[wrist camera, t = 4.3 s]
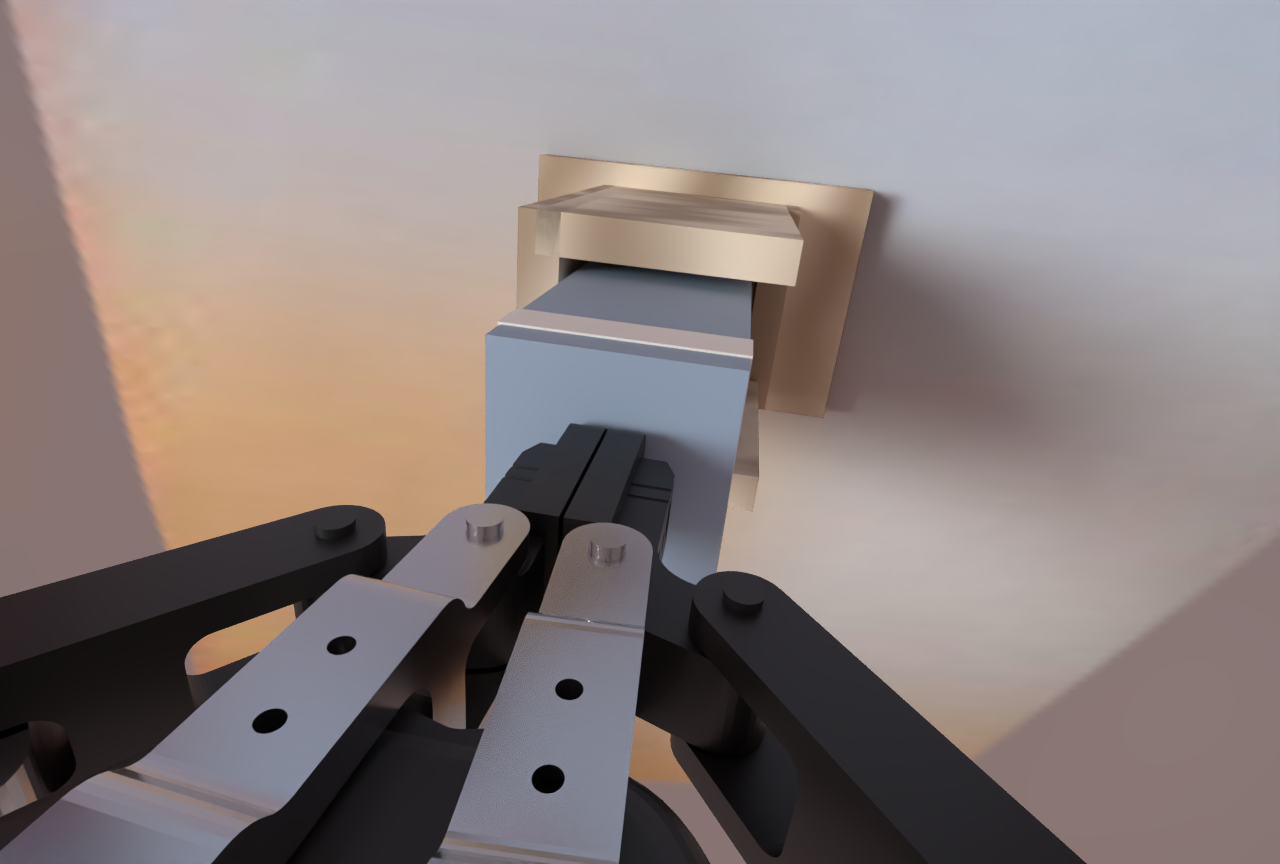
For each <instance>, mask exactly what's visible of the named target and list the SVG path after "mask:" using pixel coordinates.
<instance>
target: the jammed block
mask: <svg viewBox="0 0 1280 864" xmlns="http://www.w3.org/2000/svg"><path fill="white" fill-rule="evenodd" d="M751 294H752V281H747V280H739V279H731V278H723V277H715V276H707V275H699V274H691V273H683V272H675V271H667V270H659V269H651V268H643V267H635V266H627V265H619V264H610V263H602V262H594V261H589V262H588V263H587V264H585V265H584V266H582V267H581V268H579V269H578V270H577V271H575V272H574V273H572V274H571V275H569V276H568V277H567V278H565V279H564V280H562V281H561V282H559V283H558V284H557V285H555V286H554V287H552V288H551V289H550V290H548V291H547V292H545V293H544V294H542V295H541V296H540V297H538V298H537V299H535V300H534V301H532V302H531V303H530V304H528V305H527V306H525V307H524V308H522V309H520V308H517V309H515V310H514V311H512V312H511V313H509V314H508V315H506V316H505V317H504V318H502V319H501V320H499V321H498V326H497V327H495V328H494V329H493V330H491V331H490V332H488V333H487V334H486V335H485V383H486V499H487V498H488V497H489V495H490V494H491V493H492V491H493V490H494V489H495V487H496V486H497V485H498V483H499V482H500V481H501V479H502V478H503V477H505V474H506V473H507V471H508V470H509V469H510V467H513V463H514V462H515V461H516V459H517V458H518V457H519V456H520V454H521V453H522V452H523V451H525V450H527V449H529V448H531V447H533V446H535V445H537V444H539V443H541V442H542V443H548V444H555V445H556V444H557V442H558V441H559V439H560V438H561V436H562V435H563V433H564V432H565V430H566V429H567V427H568V425H569V424H570V423H574V424H581V425H587V426H594V427H600V428H607V431H608V430H609V429H614V430H621V431H628V432H634V433H641V434H645V435H646V442H645V452H644V458H646V459H652V460H659V461H665V462H667V463H668V464H669V466H670V468H671V470H672V471H673V473H674V475H675V478H674V486H673V493H672V501H671V509H670V516H669V524H668V532H667V539H666V545H665V549H664V554H663V558H662V563H663V565H664V566H665V567H666V568H667V569H668V570H669V571H670V572H672V573H673V574H674V575H676V576H677V577H679V578H681V579H683V580H685V581H687V582H689V583H692V584H694V585H696V584H697V583H698V582H699V581H700V580H701V579H702V578H704V577H706V576H708V575H710V574H713V573H716V571H717V566H718V560H719V554H720V548H721V542H722V536H723V530H724V524H725V519H726V513H727V507H728V501H729V495H730V489H731V483H732V477H733V472H734V466H735V460H736V454H737V448H738V442H739V436H740V430H741V425H742V419H743V413H744V407H745V401H746V395H747V389H748V383H749V378H750V372H751V366H752V360H753V340H752V339H751Z"/></svg>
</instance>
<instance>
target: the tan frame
mask: <svg viewBox="0 0 1280 864" xmlns="http://www.w3.org/2000/svg"><path fill="white" fill-rule="evenodd" d="M873 193H874V191H873V190H870V189H862V188H853V187H844V186H834V185H825V184H816V183H806V182H797V181H788V180H779V179H769V178H760V177H751V176H742V175H732V174H723V173H714V172H705V171H695V170H686V169H677V168H668V167H658V166H649V165H640V164H631V163H621V162H612V161H603V160H593V159H584V158H575V157H566V156H556V155H539V179H538V202H536V203H532V204H528V205H524V206H521V207H518V256H517V308H520V309H522V308H524V307H525V306H527V305H528V304H530V303H531V302H532V301H534V300H535V299H537V298H538V297H540V296H541V295H542V294H544V293H545V292H547V291H548V290H550V289H551V288H552V287H554V286H555V285H557V284H558V283H559V282H561V281H562V280H564V279H565V278H567V277H568V276H569V275H571V274H572V273H574V272H575V271H577V270H578V269H579V268H581V267H582V266H584V265H585V264H587V263H588V262H589V261H594V262H602V263H610V264H619V265H627V266H635V267H643V268H651V269H659V270H667V271H675V272H683V273H691V274H699V275H707V276H715V277H723V278H731V279H739V280H747V281H752V294H751V339H752V340H753V360H752V366H751V372H750V378H749V383H748V389H747V395H746V401H745V407H744V413H743V419H742V425H741V430H740V436H739V442H738V448H737V454H736V460H735V466H734V472H733V477H732V483H731V489H730V495H729V501H728V508H734V509H740V510H746V511H752V512H753V507H754V501H755V496H756V491H757V485H758V480H759V439H758V409H764V410H772V411H779V412H786V413H793V414H800V415H807V416H814V417H821V418H823V417H824V412H825V408H826V403H827V399H828V394H829V390H830V386H831V381H832V377H833V372H834V368H835V363H836V359H837V354H838V350H839V345H840V341H841V336H842V332H843V327H844V323H845V319H846V314H847V310H848V305H849V301H850V296H851V292H852V287H853V283H854V278H855V274H856V269H857V265H858V260H859V256H860V252H861V247H862V243H863V238H864V234H865V229H866V225H867V220H868V216H869V211H870V207H871V202H872V198H873Z"/></svg>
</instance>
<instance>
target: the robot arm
mask: <svg viewBox="0 0 1280 864" xmlns="http://www.w3.org/2000/svg"><path fill="white" fill-rule="evenodd" d="M645 442H646V435H645V434H641V433H634V432H628V431H621V430H614V429H609V430H608V431H607V428H600V427H594V426H587V425H581V424H574V423H570V424H569V425H568V427H567V429H566V430H565V432H564V433H563V435H562V436H561V438H560V439H559V441H558V442H557V444H556V445H555V444H548V443H542V442H541V443H539V444H537V445H535V446H533V447H531V448H529V449H527V450H525V451H523V452H522V453H521V454H520V456H519V457H518V458H517V459H516V461H515V462H514V463H513V467H510V469H509V470H508V471H507V473H506V474H505V477H503V478H502V479H501V481H500V482H499V483H498V485H497V486H496V487H495V489H494V490H493V491H492V493H491V494H490V495H489V497H488V498H487V499H486V500H485V502H484V503H483V504H474V505H469V506H465V507H461V508H459V509H456V510H454V511H452V512H451V513H449V514H448V515H446V516H445V517H444V518H443V519H442V520H441V521H440V522H439V523H438V524H437V525H436V526H435V527H434V528H433V529H432V530H431V531H430V532H429V533H428V534H427V535H424V536H393V537H386V527H385V521H384V518H383V517H382V516H381V515H380V514H379V513H378V512H376V511H374V510H372V509H369V508H366V507H362V506H354V505H338V506H330V507H325V508H320V509H316V510H313V511H309V512H306V513H302V514H298V515H295V516H291V517H288V518H284V519H280V520H277V521H273V522H270V523H266V524H263V525H259V526H255V527H252V528H248V529H245V530H241V531H237V532H234V533H230V534H227V535H223V536H220V537H216V538H212V539H209V540H205V541H202V542H198V543H194V544H191V545H187V546H184V547H180V548H176V549H173V550H169V551H166V552H162V553H159V554H155V555H151V556H148V557H144V558H141V559H137V560H133V561H130V562H126V563H123V564H119V565H115V566H112V567H108V568H105V569H101V570H98V571H94V572H90V573H87V574H83V575H80V576H76V577H73V578H69V579H66V580H62V581H58V582H55V583H51V584H47V585H44V586H40V587H37V588H33V589H30V590H26V591H22V592H19V593H16V594H12V595H8V596H4V597H1V598H0V864H710V863H709V861H708V859H707V857H706V855H705V854H704V852H703V850H702V849H701V847H700V845H699V844H698V842H697V841H696V839H695V838H694V836H693V835H692V834H691V832H690V831H689V830H688V828H687V827H686V826H685V824H684V823H683V822H682V821H681V819H680V818H679V817H678V816H677V815H676V814H675V813H674V812H673V811H672V810H671V809H670V808H669V807H668V806H667V804H666V803H664V801H663V800H661V799H660V798H659V797H658V796H656V795H655V794H654V793H653V792H651V791H650V790H649V789H648V788H646V787H645V786H643V785H642V784H640V783H638V782H637V781H635V780H634V779H632V778H631V777H629V767H630V758H631V749H632V740H633V730H634V721H635V716H637V717H639V718H641V719H643V720H645V721H647V722H649V723H651V724H653V725H655V726H657V727H659V728H661V729H663V730H665V731H667V732H668V733H670V734H671V739H670V742H671V748H672V751H673V754H674V756H675V758H676V760H677V761H678V763H679V764H680V766H681V767H682V769H683V770H684V772H685V773H686V774H687V776H688V777H689V779H690V780H691V782H692V783H693V785H694V786H695V788H696V789H697V791H698V792H699V794H700V795H701V797H702V798H703V800H704V801H705V803H706V804H707V805H708V807H709V809H710V810H711V811H712V813H713V814H714V816H715V817H716V818H717V820H718V822H719V823H720V825H721V826H722V828H723V829H724V831H725V832H726V834H727V835H728V837H729V838H730V840H731V841H732V843H733V844H734V846H735V847H736V849H737V850H738V851H739V853H740V854H741V856H742V857H743V859H744V860H745V862H746V863H747V864H1086V863H1085V862H1084V861H1083V860H1082V859H1081V858H1080V857H1079V856H1078V855H1076V854H1075V853H1074V852H1073V851H1072V850H1071V849H1069V848H1068V847H1067V846H1066V845H1065V844H1064V843H1063V842H1062V841H1061V840H1060V839H1059V838H1057V837H1056V836H1055V835H1054V834H1053V833H1052V832H1051V831H1049V829H1047V828H1046V827H1045V826H1044V825H1043V824H1042V823H1041V822H1040V821H1038V820H1037V819H1036V818H1035V817H1034V816H1033V815H1032V814H1031V813H1030V812H1028V811H1027V810H1026V809H1025V808H1024V807H1023V806H1022V805H1021V804H1019V803H1018V802H1017V801H1016V800H1015V799H1014V798H1013V797H1011V795H1009V794H1008V793H1007V792H1006V791H1005V790H1004V789H1003V788H1002V787H1000V786H999V785H998V784H997V783H996V782H995V781H994V780H993V779H992V778H990V777H989V776H988V775H987V774H986V773H985V772H984V771H983V770H982V769H980V768H979V767H978V766H977V765H976V764H975V763H974V762H973V761H972V760H970V759H969V758H968V757H967V756H966V755H965V754H964V753H963V752H961V751H960V750H959V749H958V748H957V747H956V746H955V745H954V744H953V743H951V742H950V741H949V740H948V739H947V738H946V737H945V736H944V735H943V734H941V733H940V732H939V731H938V730H937V729H936V728H935V727H934V726H932V725H931V724H930V723H929V722H928V721H927V720H926V719H925V718H924V717H922V716H921V715H920V714H919V713H918V712H917V711H916V710H915V709H914V708H912V707H911V706H910V705H909V704H908V703H907V702H906V701H905V700H903V699H902V698H901V697H900V696H899V695H898V694H897V693H896V692H895V691H893V690H892V689H891V688H890V687H889V686H888V685H887V684H886V683H885V682H883V681H882V680H881V679H880V678H879V677H878V676H877V675H876V674H874V673H873V672H872V671H871V670H870V669H869V668H868V667H867V666H866V665H864V664H863V663H862V662H861V661H860V660H859V659H858V658H857V657H855V656H854V655H853V654H852V653H851V652H850V651H849V650H848V649H847V648H845V647H844V646H843V645H842V644H841V643H840V642H839V641H838V640H837V639H835V638H834V637H833V636H832V635H831V634H830V633H829V632H828V631H826V630H825V629H824V628H823V627H822V626H821V625H820V624H819V623H818V622H816V621H815V620H814V619H813V618H812V617H811V616H810V615H809V614H808V613H806V612H805V611H804V610H803V609H802V608H801V607H800V606H799V605H797V604H796V603H795V602H794V601H793V600H792V599H791V598H790V597H789V596H787V595H786V594H785V593H784V592H783V591H782V590H781V589H779V588H778V587H777V586H776V585H774V584H773V583H771V582H769V581H768V580H765V579H763V578H761V577H758V576H755V575H752V574H748V573H744V572H737V571H725V572H717V573H713V574H710V575H708V576H706V577H704V578H702V579H701V580H700V581H699V582H698V583H697V584H696V585H694V584H692V583H689V582H687V581H685V580H683V579H681V578H679V577H677V576H676V575H674V574H673V573H672V572H670V571H669V570H668V569H667V568H666V567H665V566H664V565H663V563H662V558H663V554H664V549H665V545H666V539H667V532H668V524H669V516H670V509H671V501H672V493H673V486H674V478H675V475H674V473H673V471H672V470H671V468H670V466H669V464H668V463H667V462H665V461H659V460H652V459H646V458H644V452H645ZM291 604H294V609H295V616H296V620H295V621H294V622H292V623H291V624H290V625H289V626H288V627H287V628H286V629H285V630H284V631H283V632H281V633H280V634H279V635H278V636H277V637H276V638H275V639H274V640H273V641H272V642H270V643H269V644H268V645H267V646H266V647H265V648H264V649H263V650H262V651H261V652H258V653H256V654H253V655H251V656H248V657H246V658H243V659H240V660H238V661H235V662H233V663H230V664H228V665H225V666H223V667H220V668H217V669H215V670H212V671H210V672H207V673H204V674H200V675H187V674H186V670H185V658H186V655H187V653H188V652H189V650H190V649H191V647H192V646H193V645H194V644H195V643H196V642H197V641H199V640H200V639H202V638H203V637H205V636H207V635H209V634H211V633H213V632H216V631H219V630H222V629H225V628H227V627H230V626H233V625H236V624H238V623H241V622H244V621H247V620H250V619H252V618H255V617H258V616H261V615H264V614H266V613H269V612H272V611H275V610H277V609H280V608H283V607H286V606H289V605H291Z"/></svg>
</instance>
